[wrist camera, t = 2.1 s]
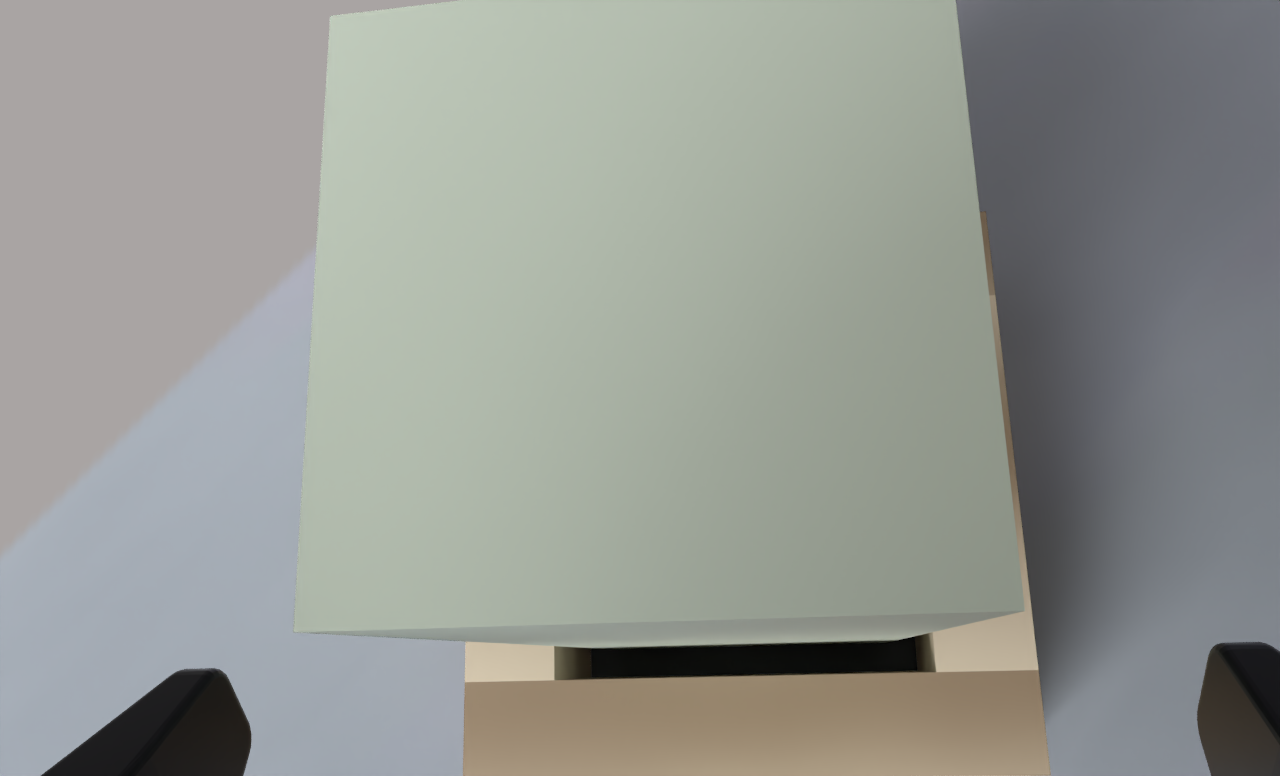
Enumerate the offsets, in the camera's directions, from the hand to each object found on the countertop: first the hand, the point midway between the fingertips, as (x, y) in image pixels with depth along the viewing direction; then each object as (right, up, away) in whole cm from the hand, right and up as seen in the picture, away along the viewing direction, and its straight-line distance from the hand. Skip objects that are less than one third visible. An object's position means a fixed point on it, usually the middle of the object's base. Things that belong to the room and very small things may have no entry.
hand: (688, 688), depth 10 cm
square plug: (+2, 0, +11) cm, 11 cm away
